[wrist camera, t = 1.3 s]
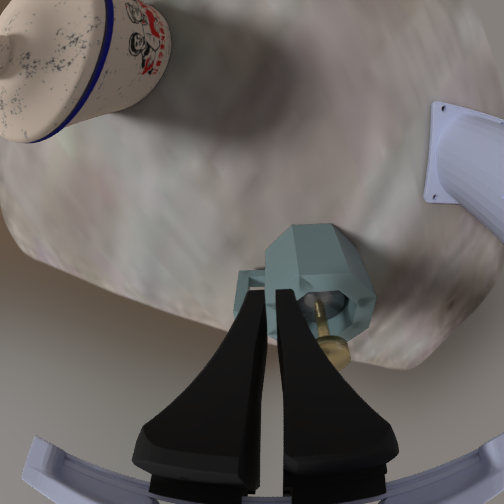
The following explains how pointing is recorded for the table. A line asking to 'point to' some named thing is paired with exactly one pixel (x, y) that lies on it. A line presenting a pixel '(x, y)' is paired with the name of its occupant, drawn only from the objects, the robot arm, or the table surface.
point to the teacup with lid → (75, 62)
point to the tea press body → (314, 277)
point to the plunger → (319, 311)
